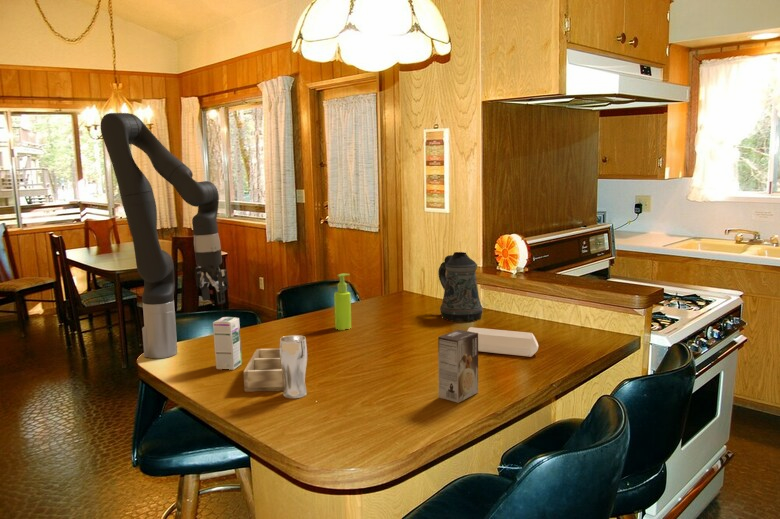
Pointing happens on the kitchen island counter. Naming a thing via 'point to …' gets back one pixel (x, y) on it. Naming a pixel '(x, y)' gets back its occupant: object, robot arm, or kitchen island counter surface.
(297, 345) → the beer glass
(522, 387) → the kitchen island counter surface
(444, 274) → the beer stein
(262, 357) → the crate
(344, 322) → the soap dispenser
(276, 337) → the kitchen island counter surface
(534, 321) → the kitchen island counter surface
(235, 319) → the syrup box
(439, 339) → the coffee box
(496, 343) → the crystal
